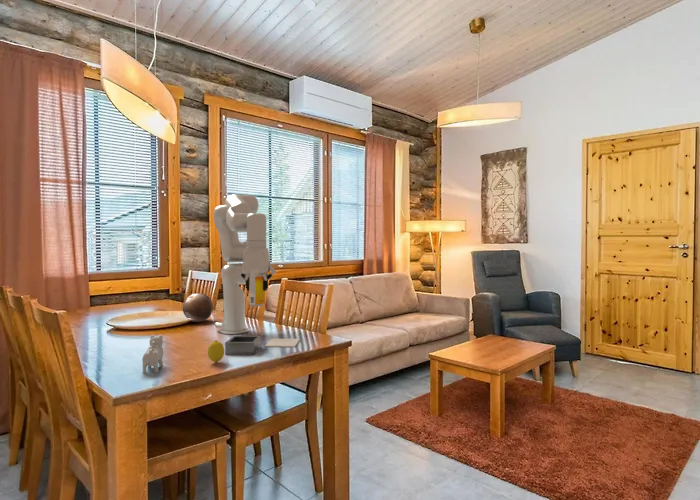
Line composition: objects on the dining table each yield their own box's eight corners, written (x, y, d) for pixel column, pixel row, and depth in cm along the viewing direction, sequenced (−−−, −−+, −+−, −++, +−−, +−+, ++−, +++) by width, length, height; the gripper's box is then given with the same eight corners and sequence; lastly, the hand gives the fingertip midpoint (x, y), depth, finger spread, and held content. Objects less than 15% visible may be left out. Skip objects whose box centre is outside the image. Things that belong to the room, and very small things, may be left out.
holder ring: (225, 354, 168) (225, 342, 168) (234, 347, 179) (233, 335, 179) (254, 354, 168) (254, 342, 167) (261, 347, 179) (261, 336, 178)
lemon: (209, 361, 159) (209, 338, 159) (225, 360, 159) (225, 338, 159) (206, 365, 154) (205, 342, 153) (222, 365, 154) (222, 342, 154)
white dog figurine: (166, 362, 157) (166, 332, 157) (158, 373, 145) (157, 341, 145) (150, 363, 156) (149, 333, 156) (140, 374, 144) (140, 341, 144)
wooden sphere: (176, 323, 227) (176, 294, 226) (195, 318, 241) (194, 291, 241) (202, 325, 223) (201, 295, 222) (219, 320, 237) (218, 291, 236)
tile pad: (265, 347, 179) (265, 345, 179) (271, 340, 191) (271, 338, 191) (294, 347, 178) (294, 345, 178) (299, 340, 190) (299, 338, 190)
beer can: (267, 304, 179) (267, 267, 178) (259, 307, 173) (259, 268, 172) (254, 303, 181) (254, 266, 180) (246, 306, 175) (245, 267, 174)
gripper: (232, 245, 173) (232, 291, 173) (275, 245, 171) (276, 291, 172) (238, 244, 180) (238, 288, 181) (280, 244, 179) (280, 289, 180)
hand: (256, 289), depth 177 cm, fingers closed on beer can, 5 cm apart
